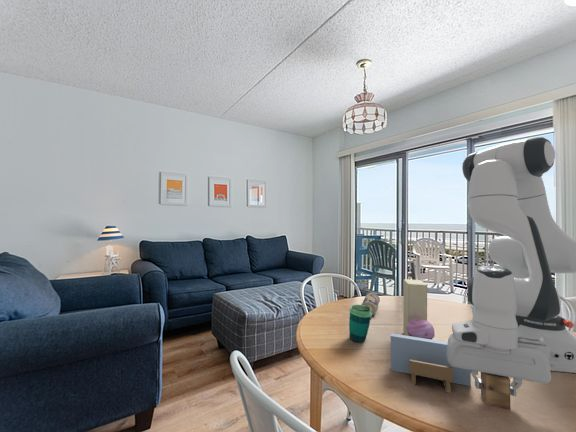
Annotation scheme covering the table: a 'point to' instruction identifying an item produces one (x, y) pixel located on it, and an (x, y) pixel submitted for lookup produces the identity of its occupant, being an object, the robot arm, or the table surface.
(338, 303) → the table surface
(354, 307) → the cup
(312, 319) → the table surface
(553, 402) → the table surface
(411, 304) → the toy refrigerator
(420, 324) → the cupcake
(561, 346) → the robot arm
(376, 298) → the decorative bottle
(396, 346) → the wall board
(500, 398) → the tan wooden cube
